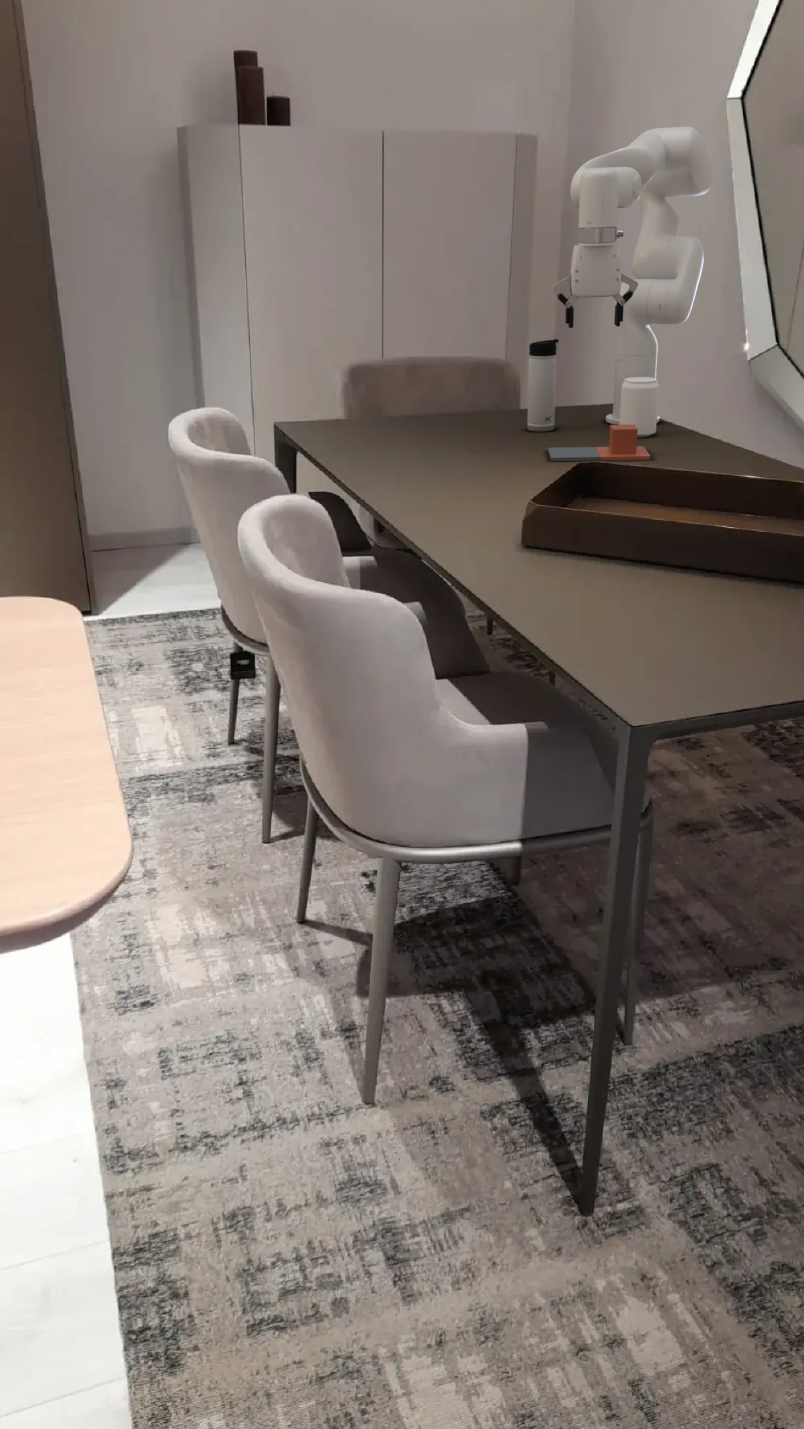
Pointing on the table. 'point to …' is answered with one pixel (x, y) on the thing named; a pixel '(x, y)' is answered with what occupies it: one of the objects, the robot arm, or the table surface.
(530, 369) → the travel mug
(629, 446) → the terracotta block
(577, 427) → the table surface
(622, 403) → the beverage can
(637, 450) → the sorting board
